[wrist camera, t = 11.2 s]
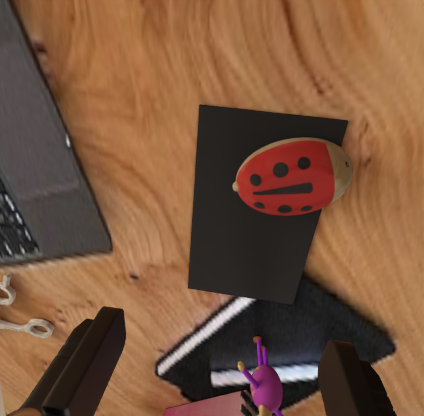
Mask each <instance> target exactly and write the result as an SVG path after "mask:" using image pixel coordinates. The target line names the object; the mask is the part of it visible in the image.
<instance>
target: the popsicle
mask: <svg viewBox="0 0 424 416" xmlns="http://www.w3.org/2000/svg"><path fill="white" fill-rule="evenodd" d="M244 392H246V394H247V395H248V396H249V397H250V398H251V401H253V402H254V400H253V398H252V396H251V395H250V394H249V392H248V391H247V390H244ZM240 394H241V391H239V392H235V393H230V394H226V395H222V396H218V397H214V398H209V399H205V400H201V401H197V402H193V403H188V404H184V405H180V406H176V407H172V408H167V409H165V412H164V416H246V415H243V414H242V413H241V411H240V410H241V404H244V406H246V409H248V410H249V412H251V413H252V416H257V415H256V414H255V412H253V411H252V408H250V406H248V405H247V404H246V402H245V401H244V399H242V396H241V397H240ZM254 405H256V404H255V403H254ZM249 416H250V415H249Z"/></svg>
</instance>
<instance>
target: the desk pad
mask: <svg viewBox="0 0 424 416" xmlns="http://www.w3.org/2000/svg"><path fill="white" fill-rule="evenodd" d="M347 124H348V121H347V120H338V119H328V118H319V117H310V116H301V115H291V114H282V113H273V112H263V111H254V110H245V109H236V108H226V107H217V106H208V105H199V121H198V137H197V153H196V169H195V184H194V200H193V216H192V232H191V248H190V264H189V280H188V288H190V289H196V290H202V291H209V292H215V293H221V294H228V295H234V296H240V297H247V298H253V299H259V300H266V301H272V302H278V303H285V304H291V305H293V302H294V299H295V296H296V292H297V289H298V286H299V282H300V279H301V276H302V272H303V269H304V266H305V263H306V259H307V256H308V253H309V249H310V246H311V243H312V239H313V236H314V233H315V230H316V226H317V223H318V220H319V216H320V213H321V210H322V208H321V209H319V210H316V211H313V212H309V213H305V214H300V215H291V216H282V215H272V214H267V213H263V212H260V211H258V210H256V209H254V208H252V207H250V206H249V205H247V204H246V203H245V202H244V201H243V200H242V199H241V197H240V196H239V194H238V192H236V191H234V190H233V183H234V182H235V181H236V176H237V173H238V170H239V168H240V167H241V165H242V164H243V162H244V161H245V160H246V159H247V158H248V157H249V156H250V155H252V154H253V153H254V152H256V151H257V150H259V149H261V148H262V147H264V146H267V145H269V144H272V143H274V142H277V141H281V140H286V139H291V138H303V137H308V138H319V139H323V140H327V141H329V142H332V143H334V144H336V145H338V146H340V147H341V144H342V141H343V137H344V134H345V131H346V127H347Z"/></svg>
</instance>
